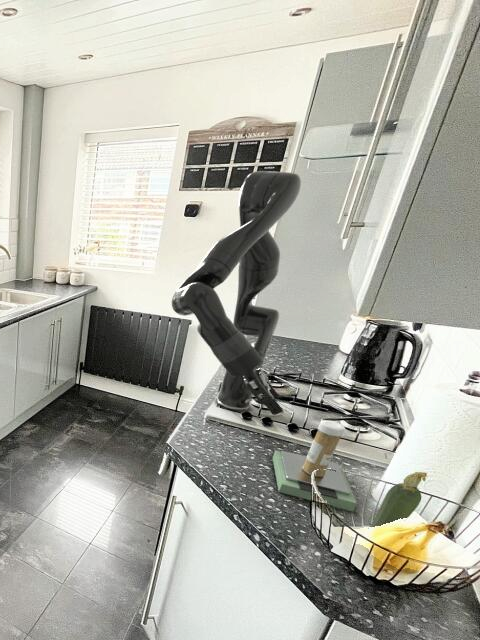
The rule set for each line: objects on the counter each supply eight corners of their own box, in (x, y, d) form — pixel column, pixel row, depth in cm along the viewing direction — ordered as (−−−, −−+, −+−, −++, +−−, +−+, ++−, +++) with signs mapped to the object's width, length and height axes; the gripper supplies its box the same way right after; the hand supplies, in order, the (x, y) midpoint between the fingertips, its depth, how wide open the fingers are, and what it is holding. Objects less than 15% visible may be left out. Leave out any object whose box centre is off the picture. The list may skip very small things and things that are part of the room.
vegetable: (356, 539, 87) (398, 459, 79) (382, 545, 86) (428, 464, 77) (365, 554, 84) (410, 473, 75) (392, 561, 82) (442, 478, 74)
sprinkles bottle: (326, 479, 100) (348, 431, 94) (302, 473, 102) (322, 426, 96) (322, 469, 104) (343, 422, 98) (300, 464, 106) (319, 417, 100)
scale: (272, 457, 113) (275, 449, 112) (337, 473, 107) (341, 465, 106) (278, 492, 101) (282, 483, 100) (353, 512, 95) (357, 503, 93)
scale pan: (279, 452, 111) (280, 450, 111) (336, 466, 106) (338, 463, 106) (285, 479, 101) (286, 477, 101) (349, 495, 96) (350, 493, 96)
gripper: (252, 353, 93) (297, 410, 93) (249, 335, 105) (289, 386, 105) (219, 370, 98) (262, 425, 98) (219, 351, 109) (258, 400, 109)
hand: (276, 405), depth 101 cm, fingers open, 8 cm apart
